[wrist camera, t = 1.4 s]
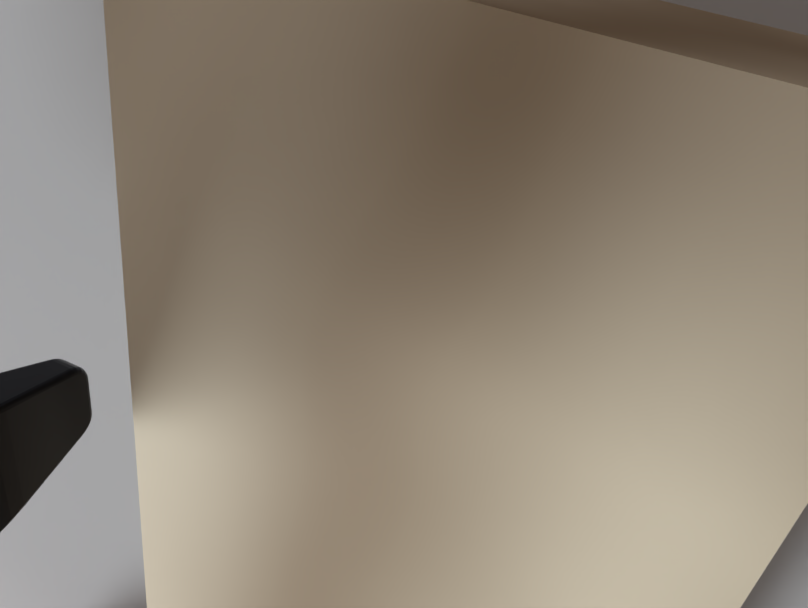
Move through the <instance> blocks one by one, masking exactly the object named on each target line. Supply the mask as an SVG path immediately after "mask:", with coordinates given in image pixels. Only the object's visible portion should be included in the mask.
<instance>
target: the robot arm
mask: <svg viewBox="0 0 808 608" xmlns="http://www.w3.org/2000/svg"><path fill="white" fill-rule="evenodd" d="M91 418H92V407H91V398H90V390H89V381H88V375H87V373H86V372H85V370H84V369H83V368H81V367H79V366H77V365H74V364H72V363H70V362H68V361H66V360H63V359H51V360H47V361H43V362H39V363H35V364H31V365H28V366H24V367H20V368H16V369H12V370H9V371H5V372H1V373H0V532H1V531H2V530H3V529H4V528H5V527H6V526H7V525H8V524H9V523H10V522H11V521H12V520H13V519H14V517H15V516H16V515H17V514H18V513H19V512H20V510H21V509H22V508H23V507H24V506H25V505H26V504H27V502H28V501H29V500H30V499H31V497H32V496H33V495H34V494H35V493H36V491H37V490H38V489H39V488H40V486H41V485H42V484H43V483H44V482H45V480H46V479H47V478H48V477H49V476H50V474H51V473H52V472H53V471H54V469H55V468H56V467H57V466H58V465H59V463H60V462H61V461H62V460H63V458H64V457H65V456H66V455H67V454H68V452H69V451H70V450H71V449H72V448H73V446H74V445H75V444H76V443H77V441H78V440H79V439H80V438H81V437H82V435H83V434H84V433H85V431H86V430H87V428H88V426H89V424H90V422H91Z"/></svg>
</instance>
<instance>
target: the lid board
mask: <svg viewBox="0 0 808 608" xmlns="http://www.w3.org/2000/svg"><path fill="white" fill-rule="evenodd" d="M103 5H104V19H105V33H106V47H107V61H108V75H109V89H110V102H111V116H112V130H113V144H114V158H115V172H116V186H117V200H118V213H119V227H120V241H121V255H122V269H123V283H124V297H125V311H126V324H127V338H128V352H129V366H130V380H131V394H132V408H133V422H134V435H135V449H136V463H137V477H138V491H139V505H140V519H141V533H142V546H143V560H144V574H145V588H146V602H147V608H741V606H742V605H743V603H744V601H745V600H746V598H747V597H748V595H749V594H750V592H751V591H752V589H753V587H754V586H755V584H756V583H757V581H758V580H759V578H760V577H761V575H762V573H763V572H764V570H765V569H766V567H767V566H768V564H769V563H770V561H771V560H772V558H773V556H774V555H775V553H776V552H777V550H778V549H779V547H780V546H781V544H782V542H783V541H784V539H785V538H786V536H787V535H788V533H789V532H790V530H791V528H792V527H793V525H794V524H795V522H796V521H797V519H798V518H799V516H800V515H801V513H802V511H803V510H804V508H805V507H806V505H807V504H808V35H803V34H799V33H795V32H791V31H787V30H782V29H778V28H774V27H770V26H766V25H762V24H757V23H753V22H749V21H745V20H741V19H736V18H732V17H728V16H724V15H720V14H715V13H711V12H707V11H703V10H699V9H695V8H690V7H686V6H682V5H678V4H674V3H669V2H665V1H661V0H103Z"/></svg>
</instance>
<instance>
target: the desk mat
mask: <svg viewBox="0 0 808 608" xmlns="http://www.w3.org/2000/svg"><path fill="white" fill-rule="evenodd" d="M661 1H665V2H669V3H674V4H678V5H682V6H686V7H690V8H695V9H699V10H703V11H707V12H711V13H715V14H720V15H724V16H728V17H732V18H736V19H741V20H745V21H749V22H753V23H757V24H762V25H766V26H770V27H774V28H778V29H782V30H787V31H791V32H795V33H799V34H803V35H808V0H661ZM51 359H63V360H66V361H68V362H70V363H72V364H74V365H77V366H79V367H81V368H83V369H84V370H85V372H86V373H87V375H88V381H89V390H90V398H91V407H92V418H91V422H90V424H89V426H88V428H87V430H86V431H85V433H84V434H83V435H82V437H81V438H80V439H79V440H78V441H77V443H76V444H75V445H74V446H73V448H72V449H71V450H70V451H69V452H68V454H67V455H66V456H65V457H64V458H63V460H62V461H61V462H60V463H59V465H58V466H57V467H56V468H55V469H54V471H53V472H52V473H51V474H50V476H49V477H48V478H47V479H46V480H45V482H44V483H43V484H42V485H41V486H40V488H39V489H38V490H37V491H36V493H35V494H34V495H33V496H32V497H31V499H30V500H29V501H28V502H27V504H26V505H25V506H24V507H23V508H22V509H21V510H20V512H19V513H18V514H17V515H16V516H15V517H14V519H13V520H12V521H11V522H10V523H9V524H8V525H7V526H6V527H5V528H4V529H3V530H2V531H1V532H0V608H147V602H146V588H145V574H144V560H143V546H142V533H141V519H140V505H139V491H138V477H137V463H136V449H135V435H134V422H133V408H132V394H131V380H130V366H129V352H128V338H127V324H126V311H125V297H124V283H123V269H122V255H121V241H120V227H119V213H118V200H117V186H116V172H115V158H114V144H113V130H112V116H111V102H110V89H109V75H108V61H107V47H106V33H105V19H104V5H103V0H0V373H1V372H5V371H9V370H12V369H16V368H20V367H24V366H28V365H31V364H35V363H39V362H43V361H47V360H51ZM741 608H808V504H807V505H806V507H805V508H804V510H803V511H802V513H801V515H800V516H799V518H798V519H797V521H796V522H795V524H794V525H793V527H792V528H791V530H790V532H789V533H788V535H787V536H786V538H785V539H784V541H783V542H782V544H781V546H780V547H779V549H778V550H777V552H776V553H775V555H774V556H773V558H772V560H771V561H770V563H769V564H768V566H767V567H766V569H765V570H764V572H763V573H762V575H761V577H760V578H759V580H758V581H757V583H756V584H755V586H754V587H753V589H752V591H751V592H750V594H749V595H748V597H747V598H746V600H745V601H744V603H743V605H742V606H741Z"/></svg>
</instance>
